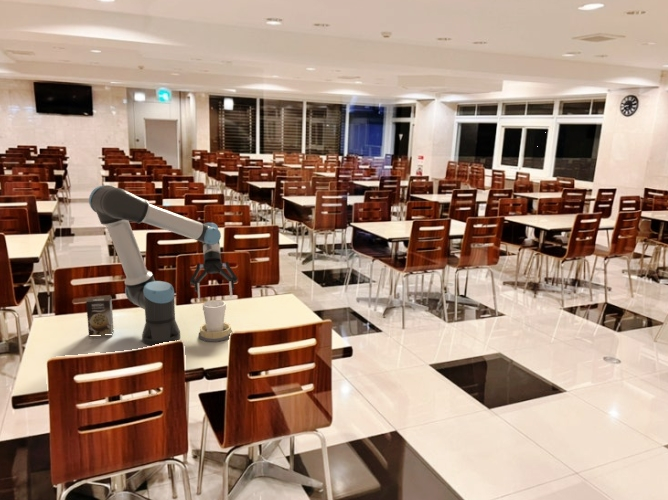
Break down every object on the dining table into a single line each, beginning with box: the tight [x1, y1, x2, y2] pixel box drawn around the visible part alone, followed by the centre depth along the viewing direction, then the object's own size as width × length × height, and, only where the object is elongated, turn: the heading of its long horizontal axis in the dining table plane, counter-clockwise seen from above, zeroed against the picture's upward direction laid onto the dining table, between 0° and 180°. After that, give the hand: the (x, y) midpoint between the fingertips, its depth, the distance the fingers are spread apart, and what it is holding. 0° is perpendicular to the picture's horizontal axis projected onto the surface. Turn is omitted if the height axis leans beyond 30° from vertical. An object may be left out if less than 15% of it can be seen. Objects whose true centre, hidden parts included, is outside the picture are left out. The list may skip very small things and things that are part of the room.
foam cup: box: [202, 299, 227, 332], centre depth 219 cm, size 10×9×13 cm
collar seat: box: [198, 321, 233, 343], centre depth 220 cm, size 14×14×4 cm
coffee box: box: [85, 295, 115, 339], centre depth 216 cm, size 9×6×16 cm
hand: (215, 296), depth 224 cm, fingers open, 13 cm apart
